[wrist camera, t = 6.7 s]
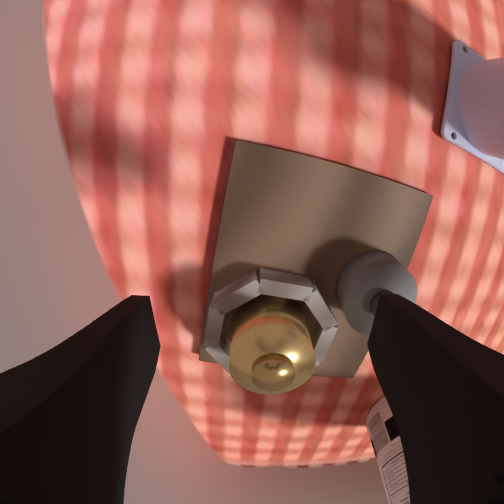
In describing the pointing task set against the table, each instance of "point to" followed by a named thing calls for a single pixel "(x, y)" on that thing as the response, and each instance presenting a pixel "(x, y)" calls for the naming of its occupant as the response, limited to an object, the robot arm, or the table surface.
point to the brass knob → (270, 346)
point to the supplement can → (388, 452)
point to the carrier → (311, 250)
